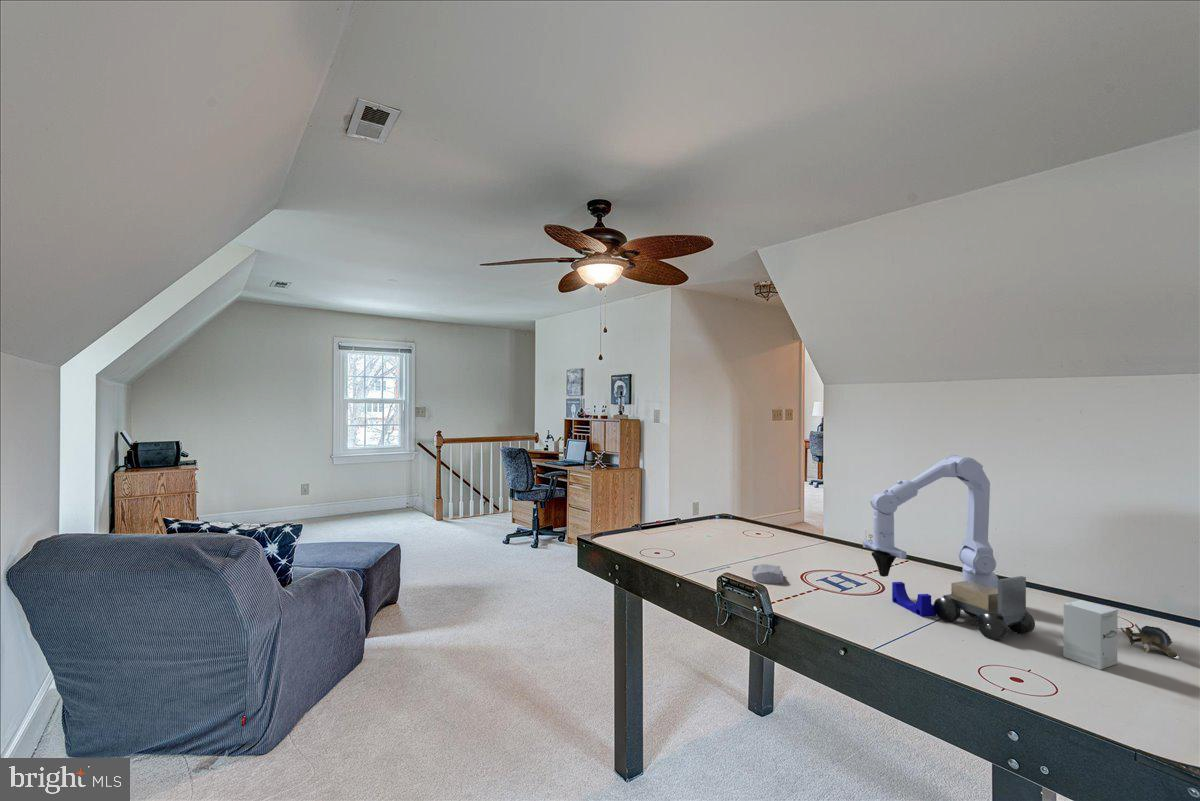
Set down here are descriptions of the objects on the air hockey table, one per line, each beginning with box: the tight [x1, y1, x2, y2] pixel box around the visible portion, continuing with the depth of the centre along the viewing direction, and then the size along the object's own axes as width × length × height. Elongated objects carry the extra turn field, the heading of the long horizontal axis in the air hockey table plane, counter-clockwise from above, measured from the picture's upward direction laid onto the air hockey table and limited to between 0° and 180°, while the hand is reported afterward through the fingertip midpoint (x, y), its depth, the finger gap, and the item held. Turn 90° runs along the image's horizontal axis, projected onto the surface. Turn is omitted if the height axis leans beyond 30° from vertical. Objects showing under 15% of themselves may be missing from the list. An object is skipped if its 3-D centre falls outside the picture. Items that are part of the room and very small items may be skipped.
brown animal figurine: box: [1120, 623, 1178, 659], centre depth 129 cm, size 8×7×9 cm
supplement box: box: [1062, 599, 1119, 671], centre depth 124 cm, size 7×7×13 cm
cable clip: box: [891, 581, 937, 618], centre depth 156 cm, size 12×4×6 cm, turn 8°
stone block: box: [751, 563, 784, 585], centre depth 183 cm, size 12×5×10 cm
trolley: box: [933, 575, 1036, 640], centre depth 143 cm, size 13×18×15 cm
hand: (883, 575), depth 167 cm, fingers closed
